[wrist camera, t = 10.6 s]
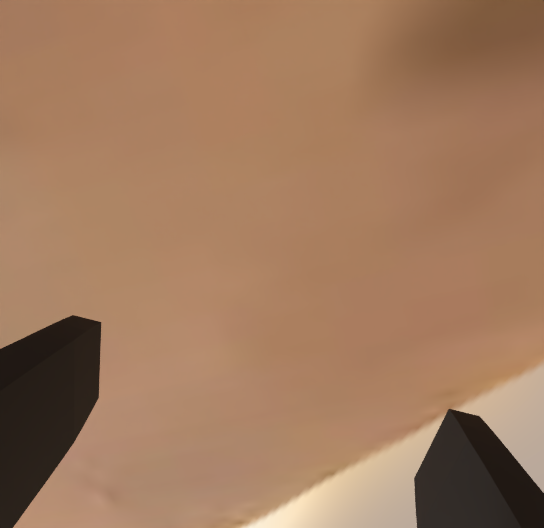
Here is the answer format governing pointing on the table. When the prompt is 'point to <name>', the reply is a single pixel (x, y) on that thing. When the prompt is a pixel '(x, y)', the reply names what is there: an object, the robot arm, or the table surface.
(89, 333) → the robot arm
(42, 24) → the table surface
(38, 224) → the table surface
